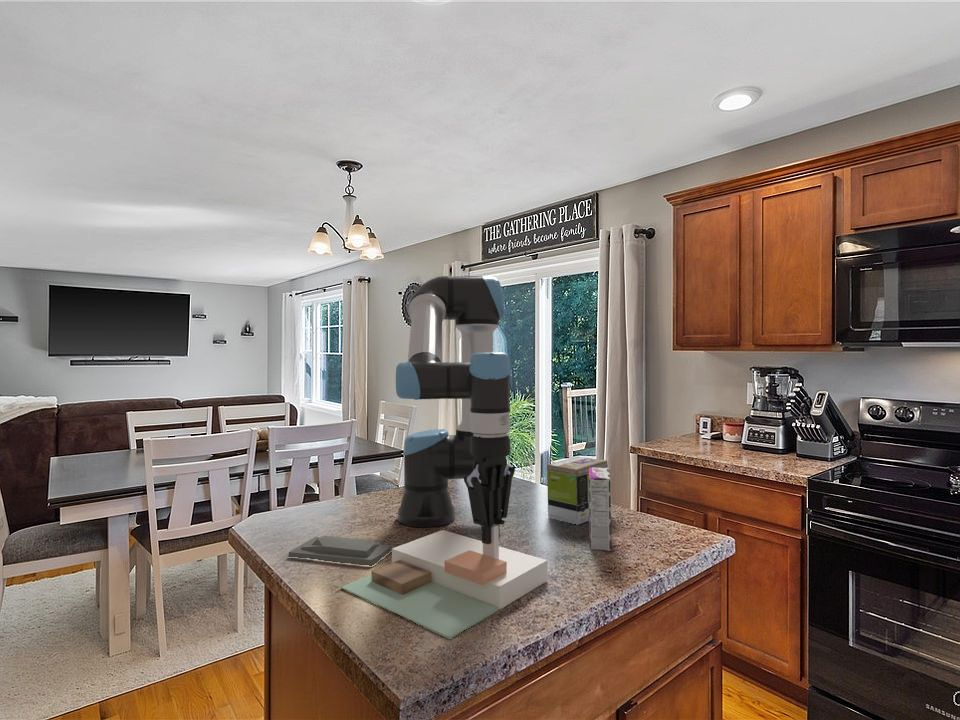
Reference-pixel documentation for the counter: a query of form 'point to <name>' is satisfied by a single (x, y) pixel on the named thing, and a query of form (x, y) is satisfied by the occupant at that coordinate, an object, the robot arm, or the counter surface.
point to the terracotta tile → (475, 567)
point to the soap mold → (342, 550)
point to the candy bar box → (599, 509)
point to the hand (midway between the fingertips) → (490, 558)
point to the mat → (426, 606)
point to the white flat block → (497, 593)
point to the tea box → (570, 488)
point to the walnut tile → (401, 577)
